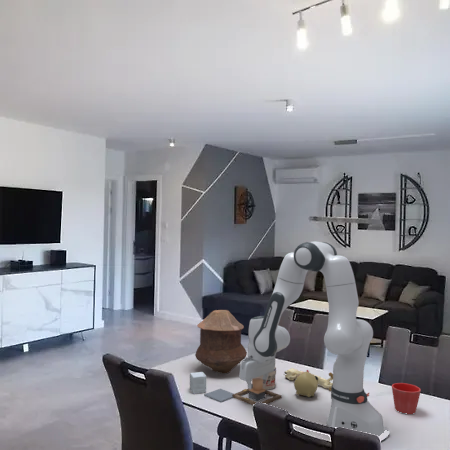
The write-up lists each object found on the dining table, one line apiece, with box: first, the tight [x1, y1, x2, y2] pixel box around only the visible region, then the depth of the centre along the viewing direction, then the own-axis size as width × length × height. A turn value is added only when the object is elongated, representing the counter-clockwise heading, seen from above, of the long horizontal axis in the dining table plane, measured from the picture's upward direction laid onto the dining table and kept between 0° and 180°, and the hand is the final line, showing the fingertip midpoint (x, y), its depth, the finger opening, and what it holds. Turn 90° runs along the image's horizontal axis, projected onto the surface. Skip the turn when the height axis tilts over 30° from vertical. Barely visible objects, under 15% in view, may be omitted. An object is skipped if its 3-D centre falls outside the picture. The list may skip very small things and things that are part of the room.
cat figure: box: [283, 367, 333, 392], centre depth 219 cm, size 10×9×25 cm
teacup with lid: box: [259, 366, 277, 390], centre depth 215 cm, size 12×9×12 cm
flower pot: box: [391, 382, 421, 415], centre depth 191 cm, size 11×11×10 cm
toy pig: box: [293, 371, 319, 398], centre depth 204 cm, size 10×12×11 cm
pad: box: [203, 388, 234, 403], centre depth 201 cm, size 10×10×1 cm
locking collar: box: [232, 388, 283, 406], centre depth 200 cm, size 15×15×2 cm
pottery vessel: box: [194, 309, 248, 374], centre depth 234 cm, size 26×26×30 cm
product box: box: [189, 371, 207, 395], centre depth 206 cm, size 6×6×7 cm
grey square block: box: [248, 391, 266, 402], centre depth 200 cm, size 5×5×3 cm
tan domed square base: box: [249, 377, 266, 394], centre depth 200 cm, size 6×5×5 cm
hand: (257, 386), depth 200 cm, fingers open, 8 cm apart
